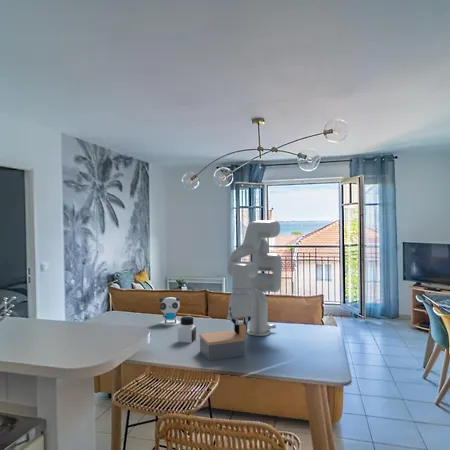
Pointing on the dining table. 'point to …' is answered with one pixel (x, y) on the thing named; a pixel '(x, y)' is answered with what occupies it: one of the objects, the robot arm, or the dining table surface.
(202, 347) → the grey tray
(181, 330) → the medicine bottle
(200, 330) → the dining table surface
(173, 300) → the panda figurine
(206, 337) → the lid
